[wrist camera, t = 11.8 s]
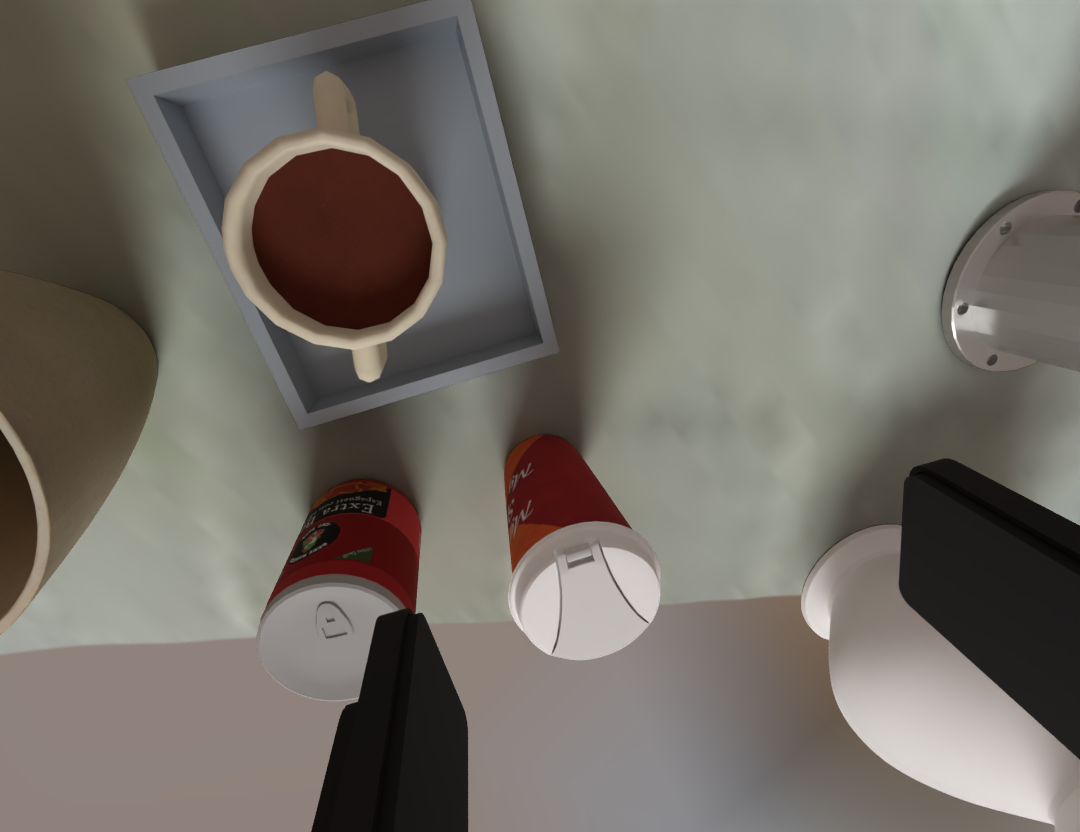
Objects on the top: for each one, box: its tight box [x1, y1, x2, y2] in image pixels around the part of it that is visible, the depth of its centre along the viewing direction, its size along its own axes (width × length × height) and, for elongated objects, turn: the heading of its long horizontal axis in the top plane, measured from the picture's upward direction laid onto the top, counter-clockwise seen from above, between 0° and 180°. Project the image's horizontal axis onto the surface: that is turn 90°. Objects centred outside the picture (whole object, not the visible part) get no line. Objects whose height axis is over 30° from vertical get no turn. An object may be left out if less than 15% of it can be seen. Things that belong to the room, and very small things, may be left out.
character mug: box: [221, 71, 447, 382], centre depth 23 cm, size 11×7×13 cm, turn 1°
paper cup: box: [504, 435, 661, 660], centre depth 31 cm, size 8×8×14 cm
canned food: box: [256, 479, 421, 701], centre depth 32 cm, size 8×8×11 cm
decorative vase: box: [801, 525, 1080, 832], centre depth 36 cm, size 18×18×25 cm
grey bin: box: [125, 0, 560, 430], centre depth 28 cm, size 16×18×4 cm
